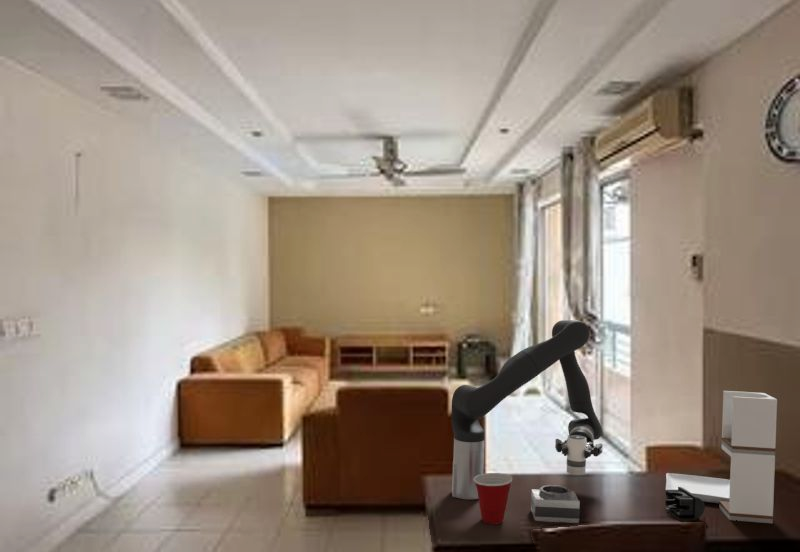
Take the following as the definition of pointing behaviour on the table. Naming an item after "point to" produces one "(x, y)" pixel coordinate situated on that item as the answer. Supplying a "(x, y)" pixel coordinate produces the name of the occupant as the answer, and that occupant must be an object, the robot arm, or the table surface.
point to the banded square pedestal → (555, 504)
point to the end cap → (684, 504)
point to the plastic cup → (493, 495)
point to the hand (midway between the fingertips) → (575, 453)
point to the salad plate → (700, 486)
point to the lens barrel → (576, 455)
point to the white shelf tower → (749, 455)
